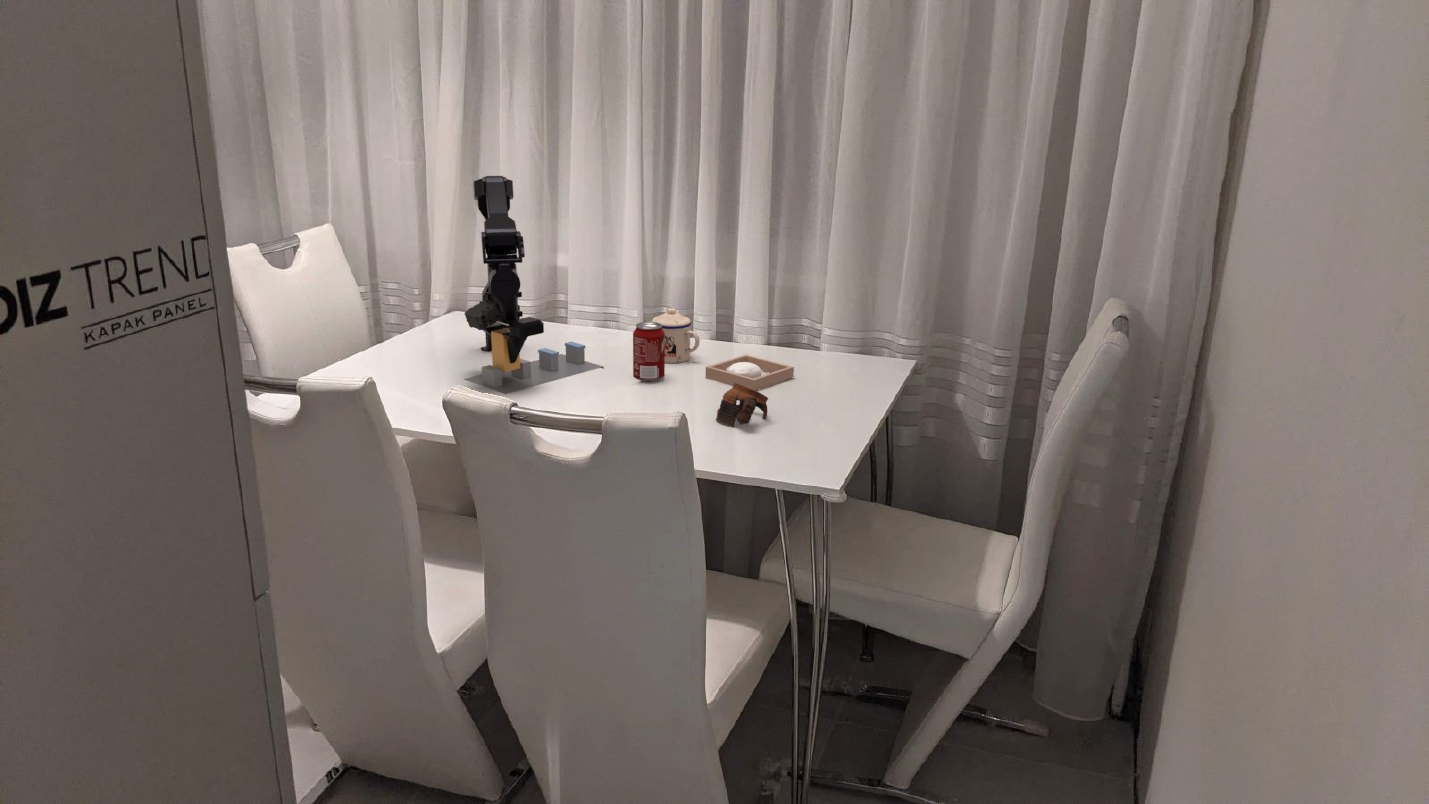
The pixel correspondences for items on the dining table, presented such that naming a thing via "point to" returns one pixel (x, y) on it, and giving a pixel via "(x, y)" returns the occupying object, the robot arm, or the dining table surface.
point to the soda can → (648, 352)
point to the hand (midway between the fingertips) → (506, 360)
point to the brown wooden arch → (740, 405)
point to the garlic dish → (775, 376)
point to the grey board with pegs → (536, 370)
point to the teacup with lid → (677, 336)
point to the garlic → (745, 369)
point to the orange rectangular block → (502, 351)
